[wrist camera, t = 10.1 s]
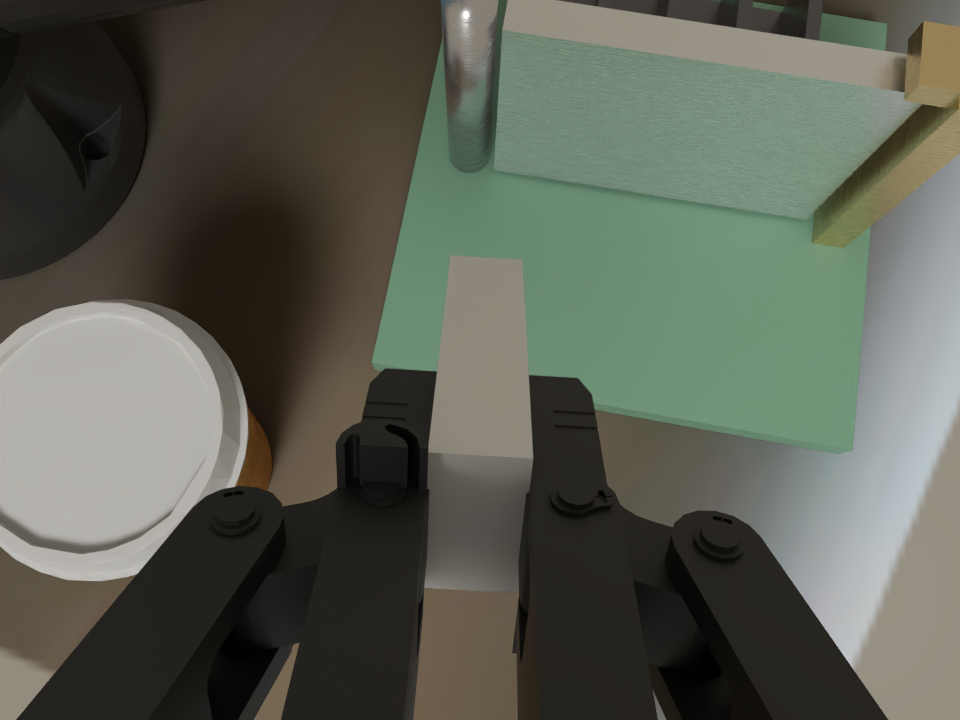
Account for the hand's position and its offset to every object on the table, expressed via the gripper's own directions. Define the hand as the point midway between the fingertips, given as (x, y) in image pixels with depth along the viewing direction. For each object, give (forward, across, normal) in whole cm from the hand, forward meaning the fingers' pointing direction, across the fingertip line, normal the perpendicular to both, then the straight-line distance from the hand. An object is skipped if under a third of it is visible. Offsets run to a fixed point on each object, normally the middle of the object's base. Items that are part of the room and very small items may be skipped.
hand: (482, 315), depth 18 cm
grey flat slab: (+23, +8, -5) cm, 25 cm away
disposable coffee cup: (+14, -12, -17) cm, 25 cm away
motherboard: (+24, +8, -6) cm, 26 cm away
